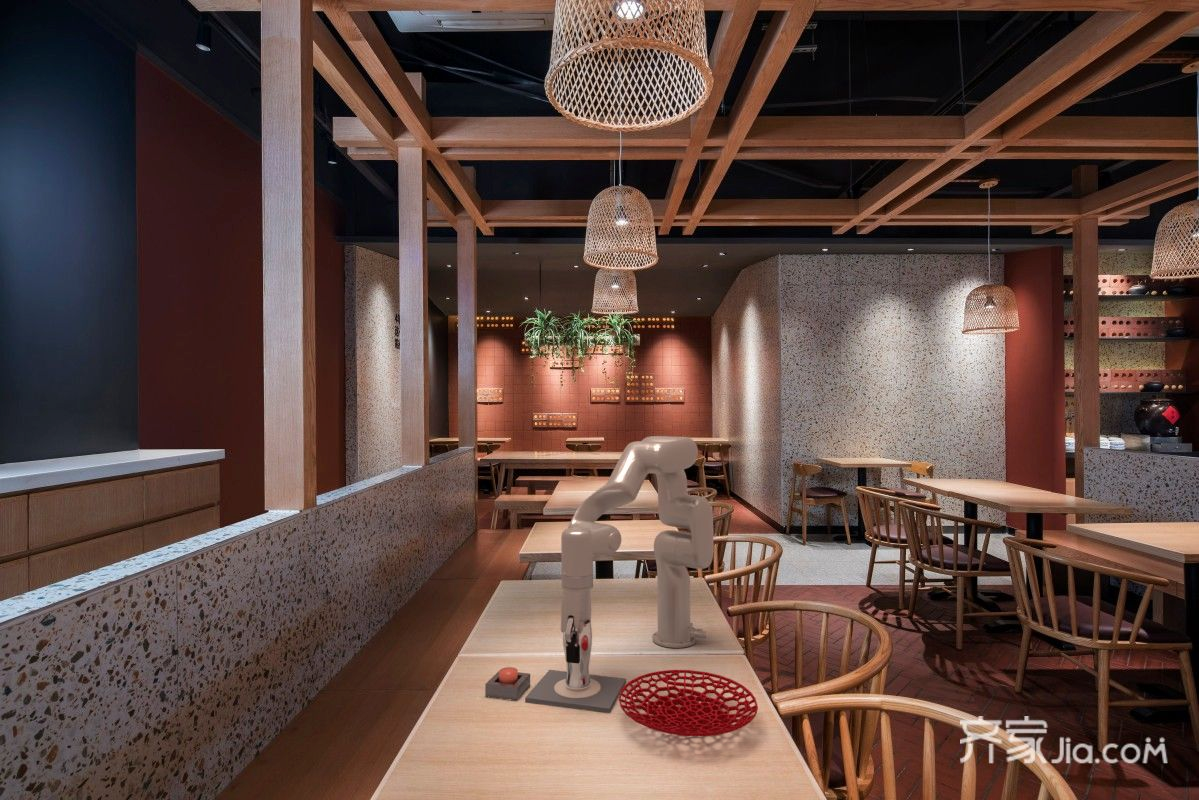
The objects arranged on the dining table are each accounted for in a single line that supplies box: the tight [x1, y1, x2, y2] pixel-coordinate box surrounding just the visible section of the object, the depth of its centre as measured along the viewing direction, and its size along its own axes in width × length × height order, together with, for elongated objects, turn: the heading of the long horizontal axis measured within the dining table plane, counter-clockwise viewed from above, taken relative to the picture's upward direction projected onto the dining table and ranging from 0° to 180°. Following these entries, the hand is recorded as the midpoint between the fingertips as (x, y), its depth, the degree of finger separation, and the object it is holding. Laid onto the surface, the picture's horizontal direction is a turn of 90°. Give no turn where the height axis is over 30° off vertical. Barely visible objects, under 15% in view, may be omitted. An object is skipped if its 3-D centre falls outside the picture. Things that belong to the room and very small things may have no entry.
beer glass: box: [562, 619, 593, 690], centre depth 148 cm, size 7×7×15 cm
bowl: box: [618, 669, 759, 737], centre depth 133 cm, size 29×30×5 cm
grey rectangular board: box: [524, 669, 627, 714], centre depth 147 cm, size 20×16×1 cm
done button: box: [498, 666, 519, 684], centre depth 148 cm, size 4×4×3 cm
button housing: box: [484, 670, 531, 702], centre depth 148 cm, size 8×8×3 cm
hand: (577, 655), depth 148 cm, fingers closed on beer glass, 6 cm apart
